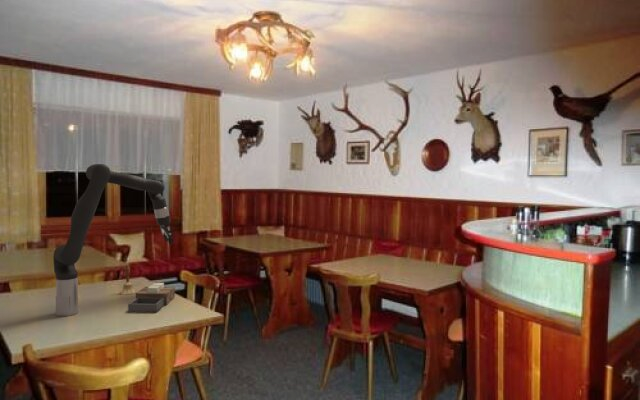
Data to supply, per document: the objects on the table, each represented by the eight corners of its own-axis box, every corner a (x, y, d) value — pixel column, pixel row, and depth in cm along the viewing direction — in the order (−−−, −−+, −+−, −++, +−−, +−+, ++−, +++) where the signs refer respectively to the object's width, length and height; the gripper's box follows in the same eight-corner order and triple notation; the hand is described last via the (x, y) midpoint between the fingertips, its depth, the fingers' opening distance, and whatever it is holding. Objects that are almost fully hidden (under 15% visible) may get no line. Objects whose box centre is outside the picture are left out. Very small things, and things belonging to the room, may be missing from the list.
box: (156, 312, 225) (156, 304, 225) (128, 312, 225) (128, 304, 224) (164, 305, 237) (164, 297, 237) (137, 305, 237) (137, 297, 236)
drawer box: (166, 305, 237) (166, 293, 237) (135, 304, 237) (135, 293, 236) (174, 297, 251) (174, 287, 251) (145, 297, 251) (145, 286, 250)
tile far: (161, 289, 245) (160, 285, 245) (151, 289, 245) (151, 285, 244) (163, 287, 250) (163, 282, 250) (154, 287, 250) (154, 282, 249)
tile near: (157, 292, 239) (157, 288, 239) (147, 292, 239) (147, 287, 238) (160, 290, 244) (160, 285, 244) (150, 290, 244) (150, 285, 243)
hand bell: (132, 295, 255) (131, 266, 254) (117, 294, 255) (117, 266, 255) (138, 291, 264) (138, 263, 263) (123, 290, 264) (123, 263, 263)
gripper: (152, 215, 260) (159, 242, 264) (159, 219, 249) (166, 247, 253) (165, 211, 264) (171, 238, 268) (172, 215, 253) (179, 242, 257)
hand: (169, 242), depth 261 cm, fingers open, 8 cm apart
